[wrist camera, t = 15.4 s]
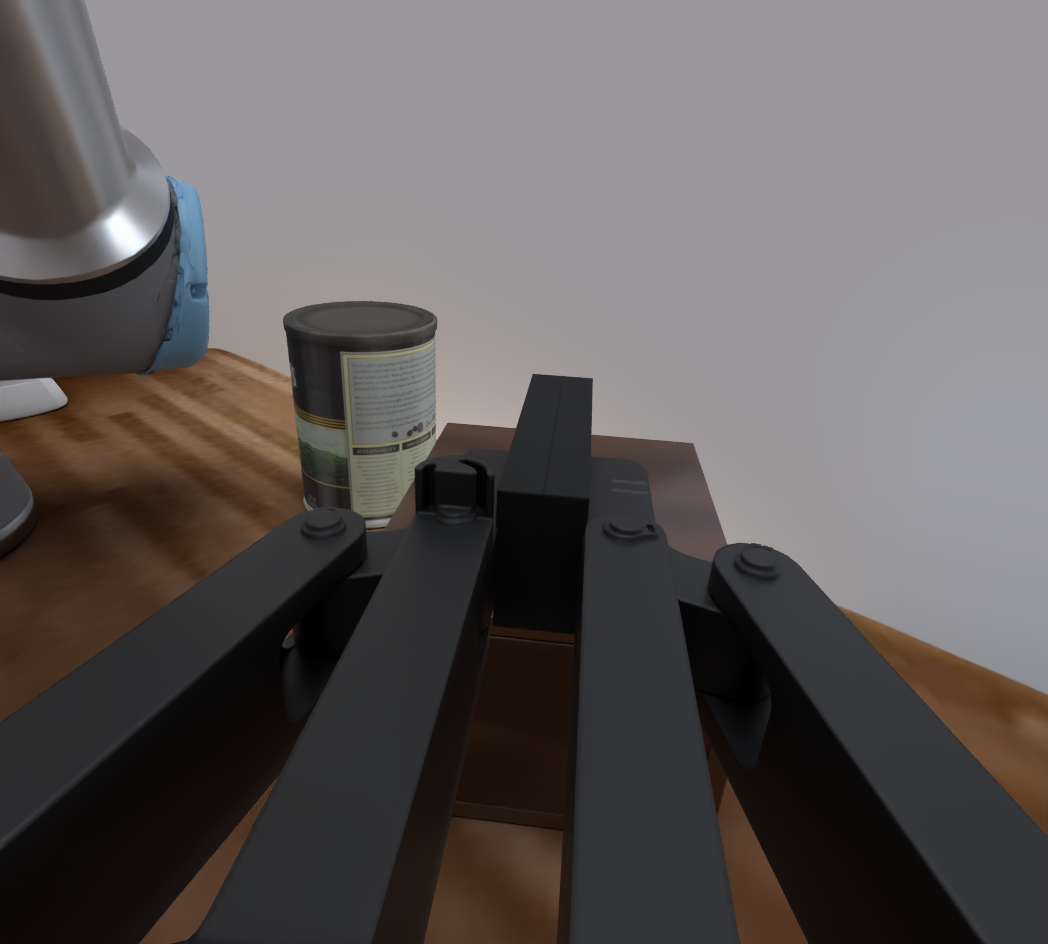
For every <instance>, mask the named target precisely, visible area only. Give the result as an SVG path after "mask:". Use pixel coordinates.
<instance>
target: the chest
mask: <svg viewBox="0 0 1048 944" xmlns="http://www.w3.org/2000/svg"><path fill="white" fill-rule="evenodd" d="M573 647H574V643H565V642H556V641H547V640H537V639H528V638H519V637H509V636H500V635H491V634H490V641H489V649H488V653H487V658H486V662H485V667H484V671H483V676H482V680H481V685H480V689H479V694H478V698H477V703H476V708H475V712H474V717H473V721H472V726H471V730H470V735H469V739H468V744H467V748H466V753H465V757H464V762H463V766H462V771H461V775H460V780H459V784H458V789H457V793H456V798H455V802H454V807H453V811H452V815H454V816H462V817H469V818H477V819H485V820H493V821H501V822H508V823H516V824H524V825H532V826H540V827H547V828H555V829H563V825H564V806H565V788H566V770H567V752H568V733H569V715H570V697H571V688H569V687H570V677H571V667H572V657H573ZM700 724H701V722H700ZM701 730H702V735H703V741H704V746H705V752H706V757H707V763H708V768H709V774H710V779H711V785H712V791H713V796H714V802H715V807H716V813H717V816H718V812H719V808H720V804H721V800H722V796H723V792H724V788H725V784H726V781H727V775H726V773H725V771H724V769H723V767H722V765H721V763H720V761H719V759H718V757H717V755H716V753H715V751H714V749H713V747H712V745H711V743H710V741H709V739H708V736H707V734H706V732H705V730H704V728H703V726H702V724H701Z"/></svg>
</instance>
